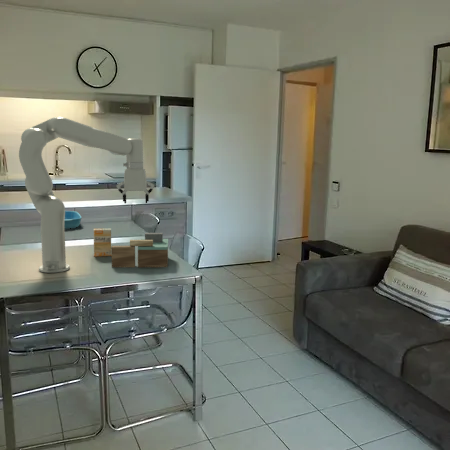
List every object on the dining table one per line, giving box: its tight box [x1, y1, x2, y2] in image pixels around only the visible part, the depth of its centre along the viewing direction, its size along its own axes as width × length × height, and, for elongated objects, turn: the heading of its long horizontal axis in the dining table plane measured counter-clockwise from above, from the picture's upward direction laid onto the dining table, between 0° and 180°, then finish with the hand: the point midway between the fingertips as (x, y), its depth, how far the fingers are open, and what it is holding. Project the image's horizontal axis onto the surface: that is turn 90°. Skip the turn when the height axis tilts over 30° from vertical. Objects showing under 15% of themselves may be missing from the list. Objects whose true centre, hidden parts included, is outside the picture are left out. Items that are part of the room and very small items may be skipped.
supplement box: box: [93, 228, 112, 258], centre depth 236 cm, size 8×5×13 cm, turn 105°
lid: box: [137, 232, 169, 251], centre depth 224 cm, size 18×13×5 cm
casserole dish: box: [64, 210, 83, 230], centre depth 314 cm, size 37×22×7 cm, turn 24°
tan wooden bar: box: [129, 239, 153, 247], centre depth 217 cm, size 2×10×2 cm, turn 96°
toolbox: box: [111, 245, 169, 268], centre depth 224 cm, size 18×24×9 cm
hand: (135, 202), depth 226 cm, fingers open, 9 cm apart
